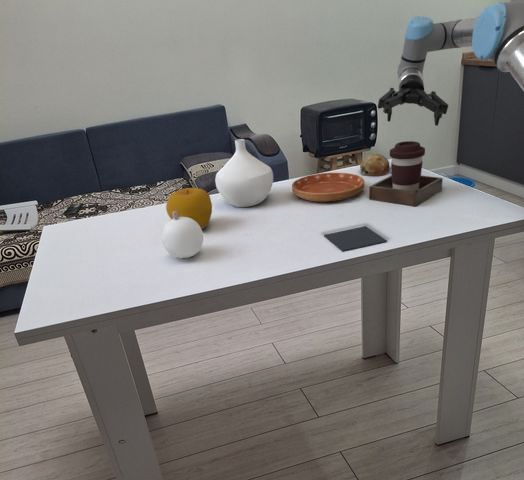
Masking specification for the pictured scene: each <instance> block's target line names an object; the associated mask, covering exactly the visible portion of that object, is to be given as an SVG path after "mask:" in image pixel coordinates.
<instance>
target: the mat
mask: <svg viewBox="0 0 524 480" xmlns="http://www.w3.org/2000/svg"><path fill="white" fill-rule="evenodd" d="M323 236H324V238H325V239H327V240H328V241H329V242H331V243H332V244H333V246H335V247H336V248H338V249H339V250H340V251H341V252H343V253H344V252H348V251H353V250H357V249H361V248H366V247H370V246H375V245H379V244H385V243H387V242H388V240H387V239H386V238H384V237H382V236H381V235H380V234H378V233H377V232H375V231H374V230H372V229H371V228H370V227H368V226H366V225H363V226H359V227H354V228H349V229H345V230H339V231H335V232H331V233H326V234H323Z"/></svg>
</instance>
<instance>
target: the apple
mask: <svg viewBox="0 0 524 480" xmlns="http://www.w3.org/2000/svg"><path fill="white" fill-rule="evenodd" d="M165 210H166V213H167V215H168V217H169V219H170V220H172V219H173V211H177V214H178V217H188V218H191V219H193V220H194V221H196V222H197V223H198V225H199V226H200V228H201V230H202V229H204V228H206V227H207V226H208V225H209V223H210V221H211V217H212V213H213V203H212V200H211V196H210V194H209V193H208V192H207V191H206V190H204V189H203V188H198V187H187V188H182V189H178V190H176V191H174V192H172V193H171V194H170V195H169V196H168V199H167V202H166V205H165Z"/></svg>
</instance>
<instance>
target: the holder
mask: <svg viewBox="0 0 524 480" xmlns="http://www.w3.org/2000/svg"><path fill="white" fill-rule="evenodd" d="M443 179H444V178H443V177H440V176H439V177H437V176H428V175H421V178H420V182H419V188H418V191H416V192H413V191H406V190H399V189H393V183H392V174H391V175H389V176H387V177H385V178H383V179H381V180H379V181H377V182H375V183H373V184H371V185H370V186H369V185H368V187H369V188H368V189H369V190H368V192H369V193H368V200H370V201H377V202H383V203H389V204H397V205H403V206H409V207H415V208H416V207H418V206H420V205H421V204H423V203H425V202H426V201H428V200H429V199H431V198H433V197H435V196H437V195H438V194H439V193H441V192H442V191H443Z"/></svg>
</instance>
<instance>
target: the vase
mask: <svg viewBox="0 0 524 480" xmlns="http://www.w3.org/2000/svg"><path fill="white" fill-rule="evenodd" d="M234 144H235V152H234V154H233V156H232V157H231V158H230V159H229V160H228V161H227V162H226V163H225V164H224V165H223V166H222V167H221V168H220V169H219V171H217V172H216V174H215V179H214V182H215V188H216V190H217V191H218V193H219V195H220V196H221V197H222V199H224V201H226V202H227V203H228V204H230V205H231V206H233V207H237V208H247V207H249V208H250V207H253V206H257V205H259V204H261V203H263V202H264V200H265V199H266V198H267V197H268V195H269V194H270V192H271V190H272V187H273V184H274V171H273V170H272V168H271V166H269V165H268V164H266V163H264V162H263V161H261V160H259V159H258V158H257V157H255V156H253V154H251V153H249V152H248V150H247V147H246V141H245V139H244V138H238V139H235V140H234Z"/></svg>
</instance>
